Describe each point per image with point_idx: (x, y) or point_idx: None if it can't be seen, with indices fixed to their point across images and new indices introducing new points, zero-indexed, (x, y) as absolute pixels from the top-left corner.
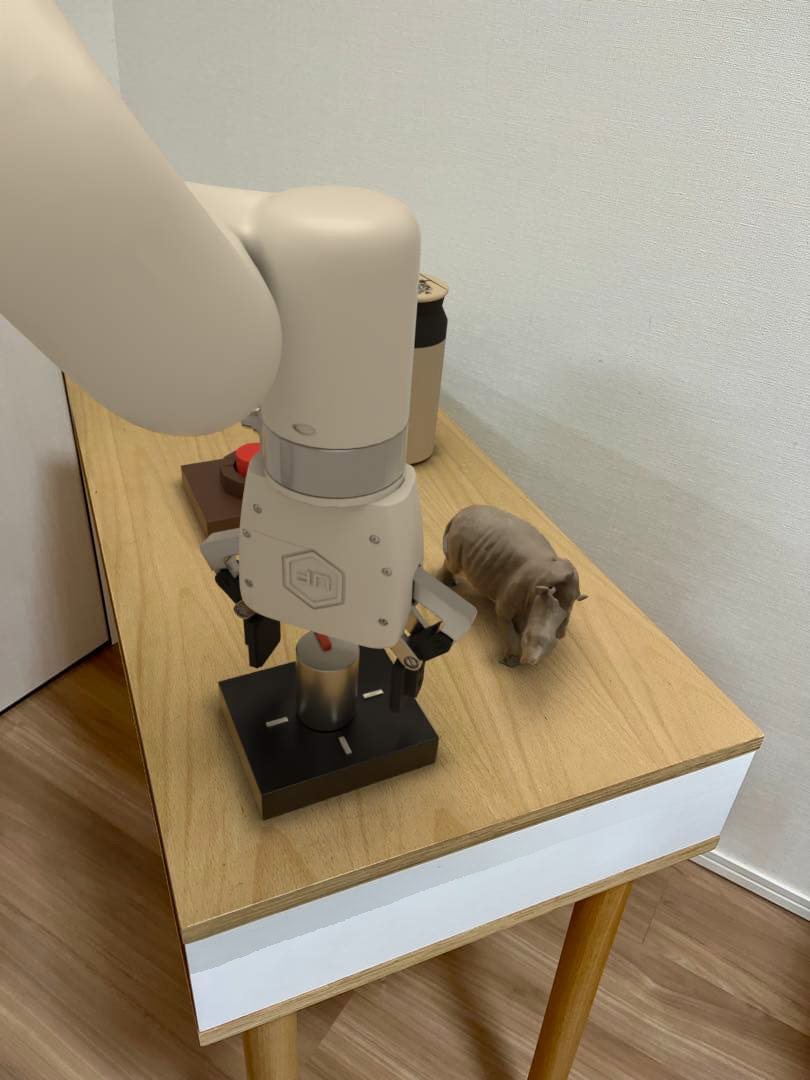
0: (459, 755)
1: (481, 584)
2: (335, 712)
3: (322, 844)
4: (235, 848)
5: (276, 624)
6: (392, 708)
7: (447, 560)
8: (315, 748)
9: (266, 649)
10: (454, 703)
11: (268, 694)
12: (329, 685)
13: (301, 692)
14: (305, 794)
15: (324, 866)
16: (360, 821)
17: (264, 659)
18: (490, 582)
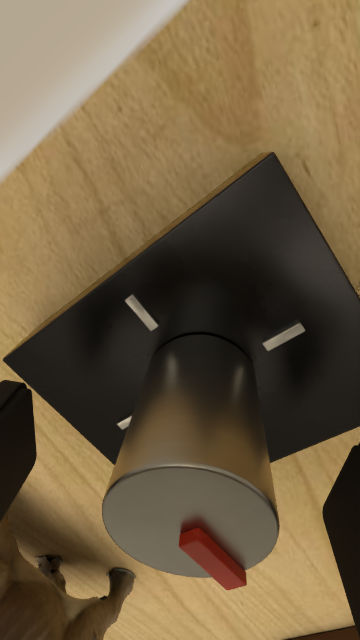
0: (9, 347)
1: (25, 612)
2: (163, 367)
3: (144, 133)
4: (300, 72)
5: (349, 568)
6: (13, 389)
7: (95, 633)
8: (194, 296)
9: (356, 495)
10: (47, 422)
11: (314, 390)
12: (163, 423)
13: (241, 397)
14: (193, 208)
15: (126, 85)
16: (99, 199)
17: (352, 466)
18: (6, 621)
